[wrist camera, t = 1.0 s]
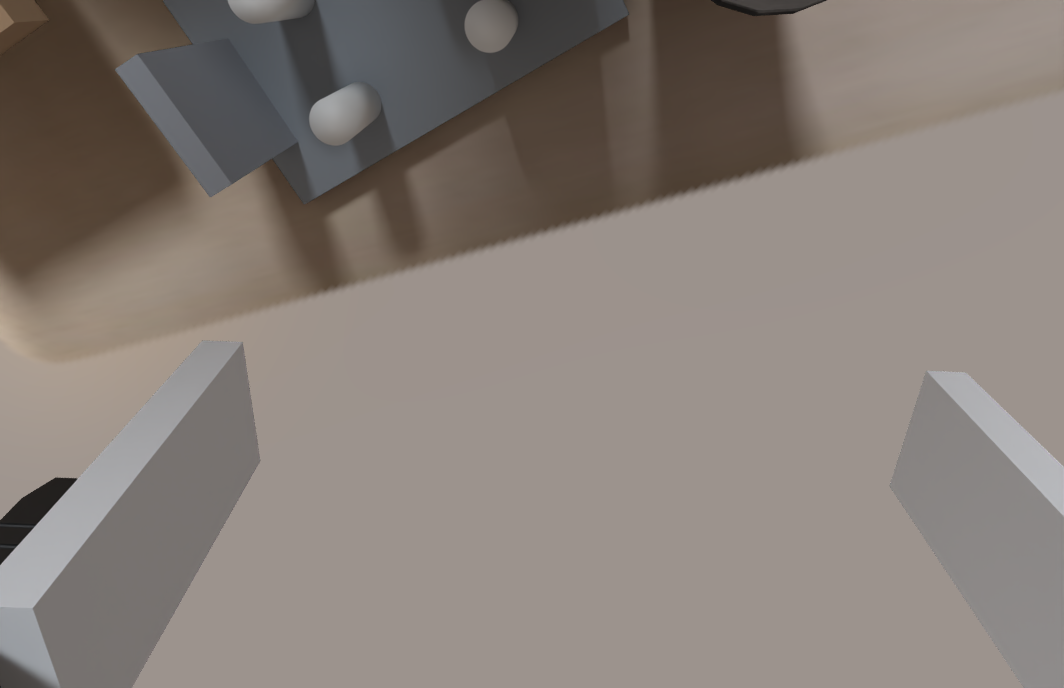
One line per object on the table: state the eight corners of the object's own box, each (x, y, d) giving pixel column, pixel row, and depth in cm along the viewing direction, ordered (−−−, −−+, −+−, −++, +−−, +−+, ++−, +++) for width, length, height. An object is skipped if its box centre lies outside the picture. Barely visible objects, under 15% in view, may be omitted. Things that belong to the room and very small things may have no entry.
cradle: (173, 0, 33) (50, 6, 25) (513, -236, 29) (500, -321, 21) (310, 199, 36) (242, 261, 28) (626, 13, 33) (654, 23, 24)
